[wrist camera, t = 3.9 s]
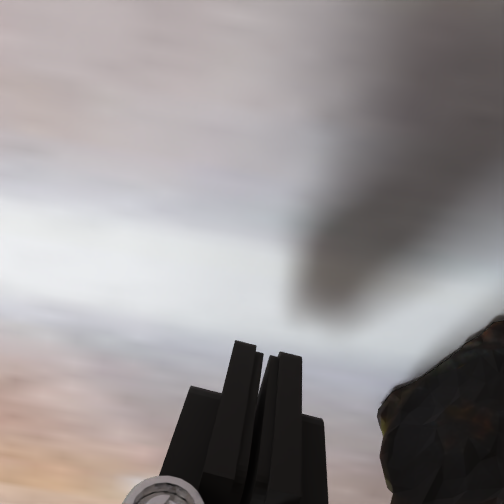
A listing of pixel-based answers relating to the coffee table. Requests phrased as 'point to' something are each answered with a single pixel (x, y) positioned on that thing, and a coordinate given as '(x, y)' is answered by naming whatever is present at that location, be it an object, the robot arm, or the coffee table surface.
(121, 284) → the coffee table surface
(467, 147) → the coffee table surface
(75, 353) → the coffee table surface
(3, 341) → the coffee table surface
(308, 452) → the robot arm
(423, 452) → the yellow and black cube
